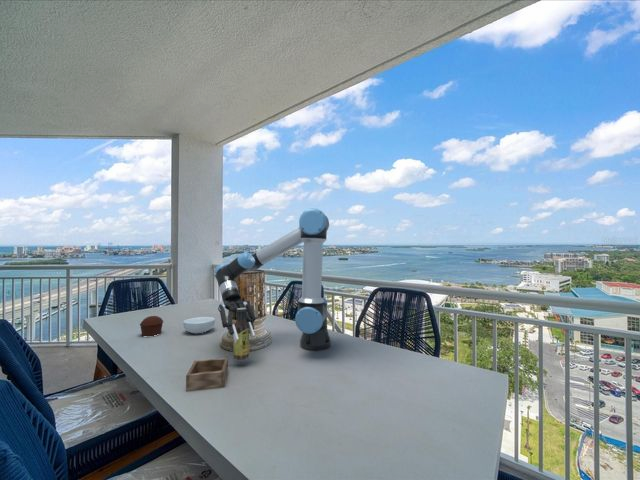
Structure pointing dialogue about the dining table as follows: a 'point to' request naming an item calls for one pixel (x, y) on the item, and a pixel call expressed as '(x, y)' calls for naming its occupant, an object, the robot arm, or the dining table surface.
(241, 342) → the sauce bottle
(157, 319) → the muffin
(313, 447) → the dining table surface
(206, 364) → the wooden open tray
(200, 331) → the cereal bowl
